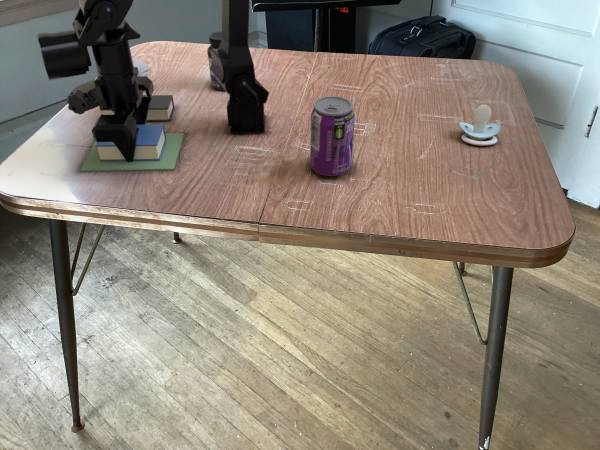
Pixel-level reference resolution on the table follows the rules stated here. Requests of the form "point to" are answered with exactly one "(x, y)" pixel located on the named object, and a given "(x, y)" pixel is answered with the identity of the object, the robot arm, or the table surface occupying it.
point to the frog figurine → (141, 67)
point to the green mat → (164, 163)
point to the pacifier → (480, 128)
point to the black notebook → (156, 108)
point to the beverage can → (332, 135)
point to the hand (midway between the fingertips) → (134, 150)
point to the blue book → (138, 145)
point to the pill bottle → (215, 42)
